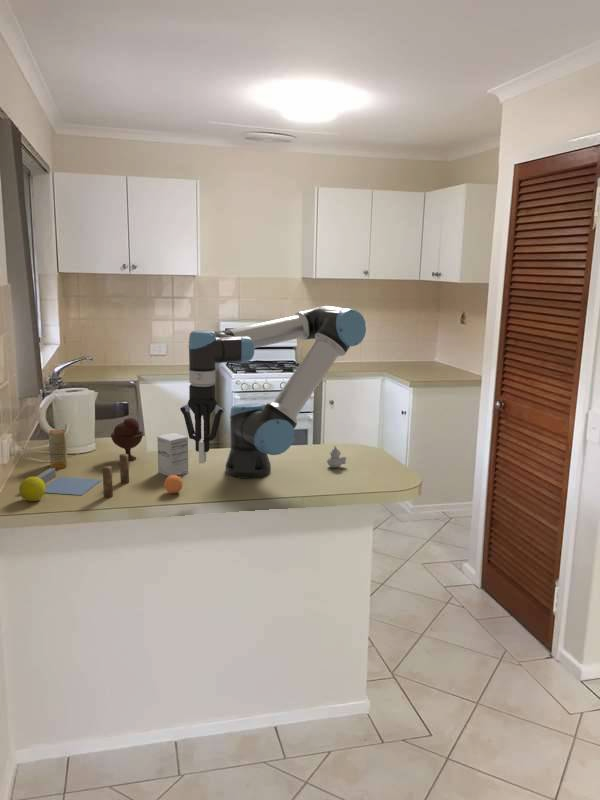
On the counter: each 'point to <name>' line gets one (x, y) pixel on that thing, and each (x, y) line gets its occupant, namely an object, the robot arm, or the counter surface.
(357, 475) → the counter surface
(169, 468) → the supplement box
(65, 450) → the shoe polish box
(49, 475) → the blue-grey rod
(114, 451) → the counter surface
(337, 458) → the grey figurine
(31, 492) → the tennis ball
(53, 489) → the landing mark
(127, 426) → the ice cream bowl
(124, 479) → the right post
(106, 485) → the left post
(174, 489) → the ball
